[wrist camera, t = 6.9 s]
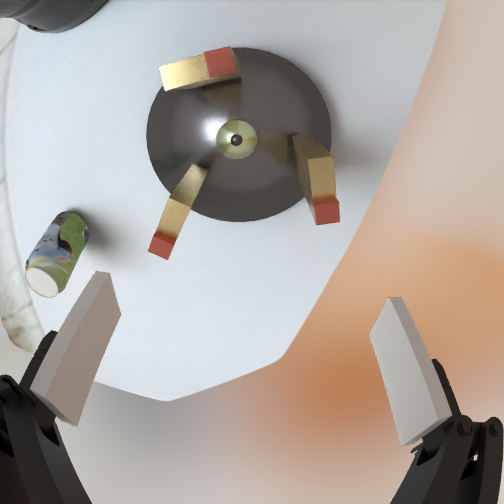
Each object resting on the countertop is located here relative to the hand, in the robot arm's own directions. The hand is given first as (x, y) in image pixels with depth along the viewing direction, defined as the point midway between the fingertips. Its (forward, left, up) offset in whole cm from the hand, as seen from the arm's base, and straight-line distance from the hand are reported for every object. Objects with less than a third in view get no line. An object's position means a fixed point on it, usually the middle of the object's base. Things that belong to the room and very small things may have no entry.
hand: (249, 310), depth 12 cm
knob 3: (-1, +5, -19) cm, 20 cm away
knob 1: (-11, -2, -19) cm, 22 cm away
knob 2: (0, -7, -19) cm, 20 cm away
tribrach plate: (-4, -1, -21) cm, 21 cm away
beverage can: (+2, -26, -21) cm, 34 cm away
